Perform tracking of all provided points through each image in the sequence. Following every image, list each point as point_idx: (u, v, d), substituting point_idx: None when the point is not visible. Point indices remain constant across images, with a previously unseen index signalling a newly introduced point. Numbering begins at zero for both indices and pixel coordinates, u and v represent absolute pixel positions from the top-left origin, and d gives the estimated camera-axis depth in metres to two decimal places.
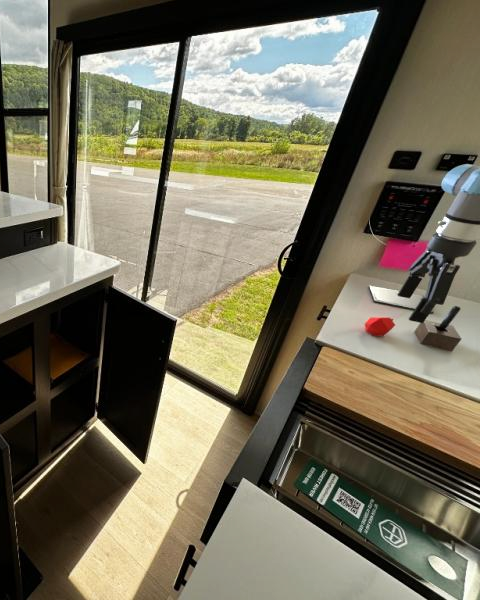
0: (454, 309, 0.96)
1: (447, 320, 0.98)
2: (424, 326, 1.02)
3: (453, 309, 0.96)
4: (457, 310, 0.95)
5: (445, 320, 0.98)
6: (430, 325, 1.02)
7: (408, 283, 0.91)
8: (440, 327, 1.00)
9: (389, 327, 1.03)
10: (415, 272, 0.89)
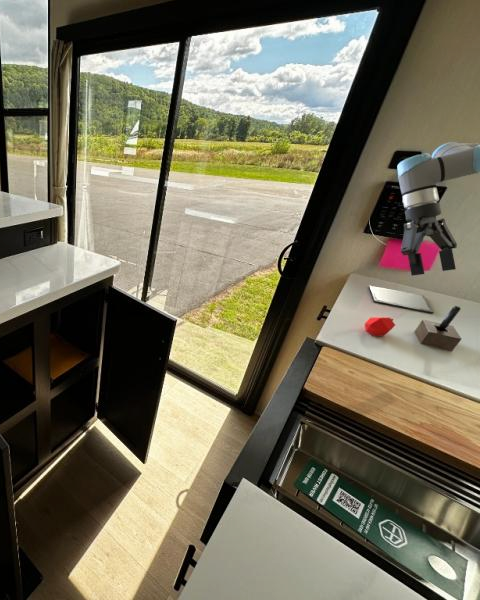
0: (454, 309, 0.96)
1: (447, 320, 0.98)
2: (424, 326, 1.02)
3: (453, 309, 0.96)
4: (457, 310, 0.95)
5: (445, 320, 0.98)
6: (430, 325, 1.02)
7: (442, 256, 1.01)
8: (440, 327, 1.00)
9: (389, 327, 1.03)
10: (439, 245, 1.01)
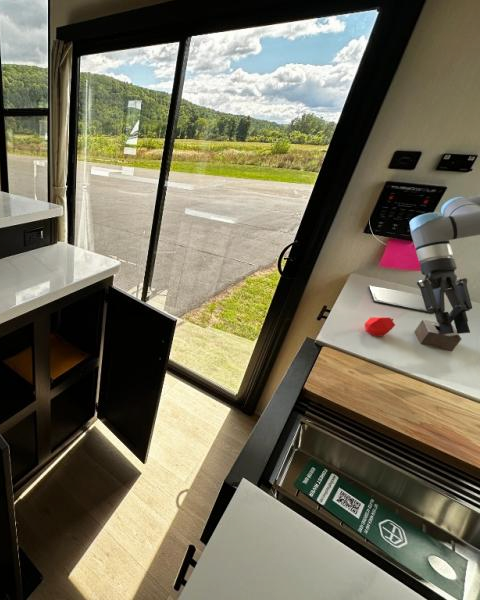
0: (456, 308, 0.96)
1: None
2: (424, 326, 1.02)
3: (455, 308, 0.97)
4: (459, 309, 0.96)
5: None
6: (430, 325, 1.02)
7: (455, 319, 0.98)
8: None
9: (389, 327, 1.03)
10: (453, 305, 0.99)
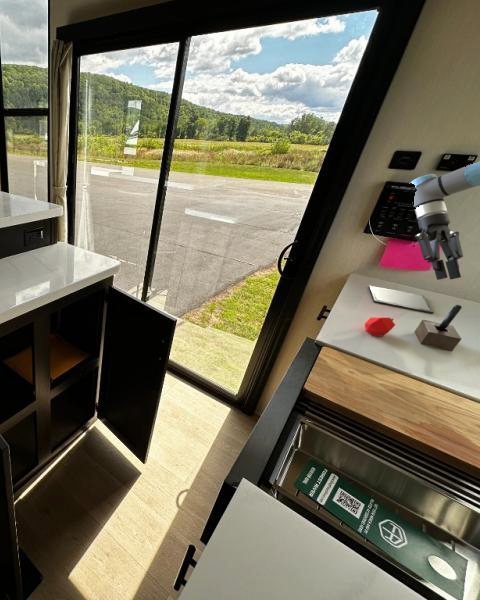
0: (455, 307, 0.96)
1: (448, 319, 0.98)
2: (424, 326, 1.02)
3: (454, 307, 0.97)
4: (458, 308, 0.96)
5: (446, 319, 0.99)
6: (430, 325, 1.02)
7: (448, 266, 1.12)
8: (441, 326, 1.00)
9: (389, 327, 1.03)
10: (446, 255, 1.13)
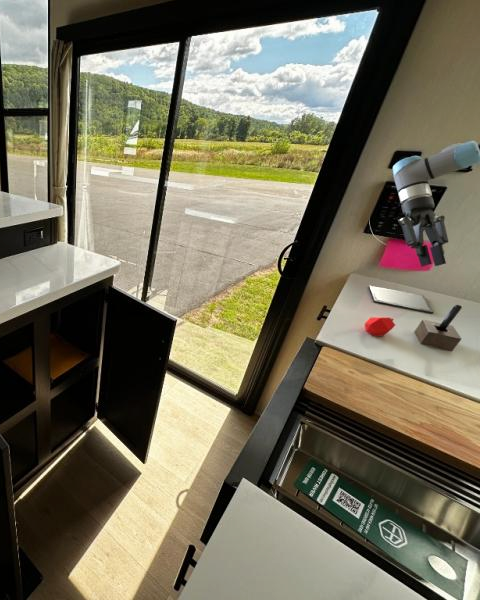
0: (455, 307, 0.96)
1: (448, 319, 0.98)
2: (424, 326, 1.02)
3: (454, 307, 0.97)
4: (458, 308, 0.96)
5: (446, 319, 0.99)
6: (430, 325, 1.02)
7: (433, 252, 1.06)
8: (441, 326, 1.00)
9: (389, 327, 1.03)
10: (431, 241, 1.07)
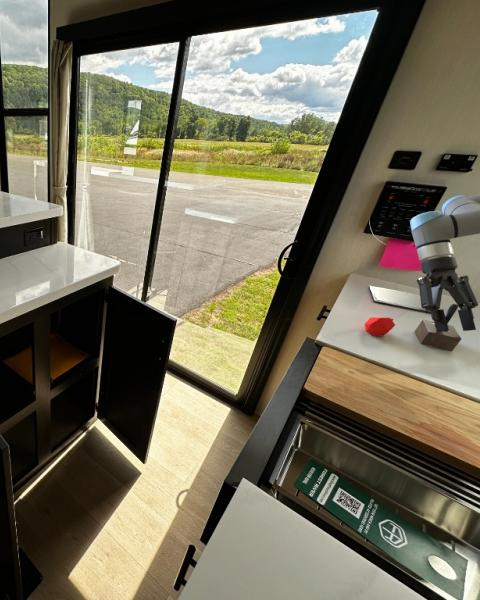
0: (452, 307, 0.97)
1: (446, 318, 0.98)
2: (424, 326, 1.02)
3: (451, 307, 0.97)
4: (455, 308, 0.96)
5: None
6: (430, 325, 1.02)
7: (461, 316, 0.98)
8: None
9: (389, 327, 1.03)
10: (458, 303, 0.99)
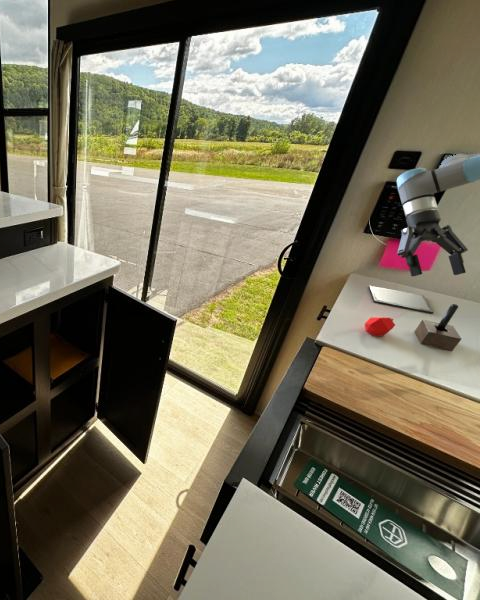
0: (452, 307, 0.97)
1: (446, 318, 0.98)
2: (424, 326, 1.02)
3: (451, 307, 0.97)
4: (455, 308, 0.96)
5: (444, 319, 0.99)
6: (430, 325, 1.02)
7: (452, 261, 1.03)
8: (439, 326, 1.00)
9: (389, 327, 1.03)
10: (448, 251, 1.04)
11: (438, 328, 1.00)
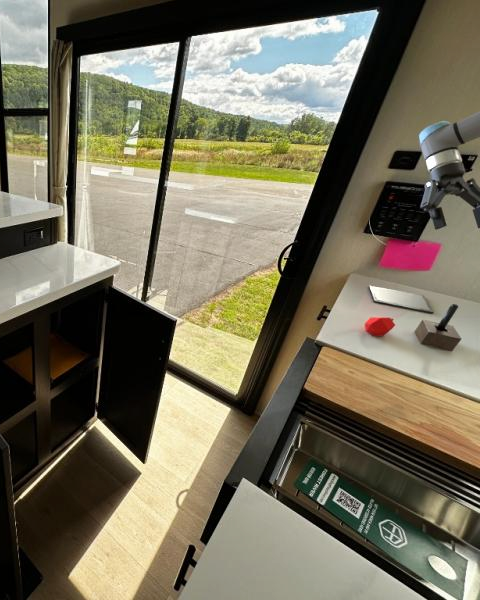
0: (452, 307, 0.97)
1: (446, 318, 0.98)
2: (424, 326, 1.02)
3: (451, 307, 0.97)
4: (455, 308, 0.96)
5: (444, 319, 0.99)
6: (430, 325, 1.02)
7: (476, 214, 1.02)
8: (439, 326, 1.00)
9: (389, 327, 1.03)
10: (472, 204, 1.03)
11: (438, 328, 1.00)
